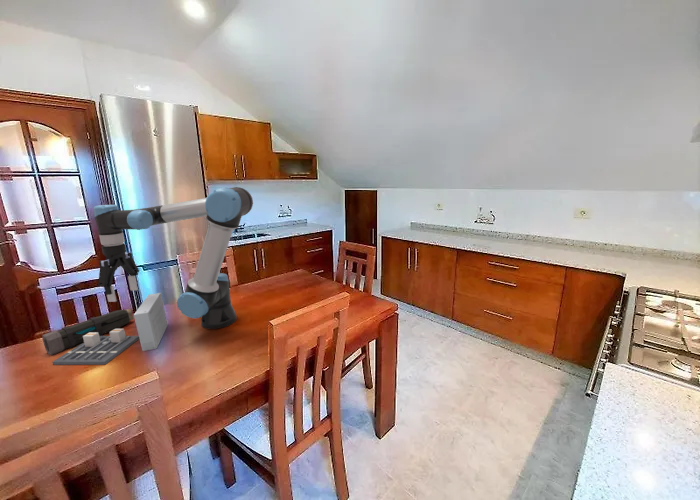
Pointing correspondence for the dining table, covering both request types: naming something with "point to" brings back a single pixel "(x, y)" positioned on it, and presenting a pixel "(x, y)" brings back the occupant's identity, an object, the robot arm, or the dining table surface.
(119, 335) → the fader
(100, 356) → the console
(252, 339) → the dining table surface
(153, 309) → the skincare box
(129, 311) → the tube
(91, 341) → the fader
